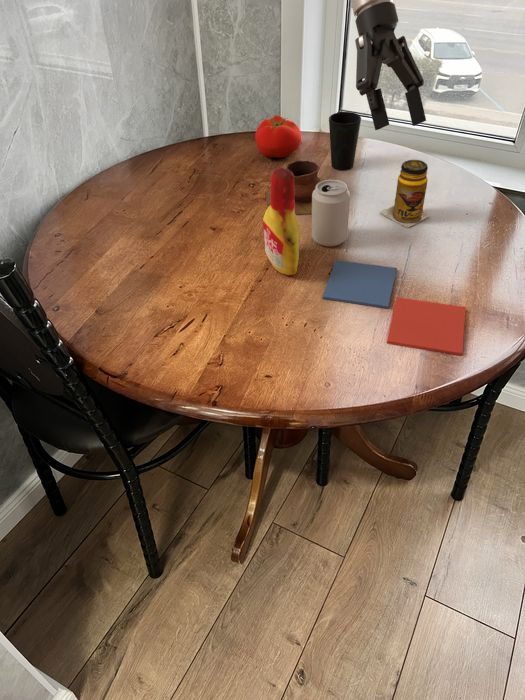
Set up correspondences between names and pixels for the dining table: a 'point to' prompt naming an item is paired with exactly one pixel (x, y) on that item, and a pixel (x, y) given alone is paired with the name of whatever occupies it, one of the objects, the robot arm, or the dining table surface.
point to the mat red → (427, 326)
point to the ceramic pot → (302, 185)
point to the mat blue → (360, 284)
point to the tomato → (277, 137)
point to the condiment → (409, 194)
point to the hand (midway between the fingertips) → (401, 125)
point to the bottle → (282, 224)
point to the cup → (343, 139)
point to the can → (330, 212)
